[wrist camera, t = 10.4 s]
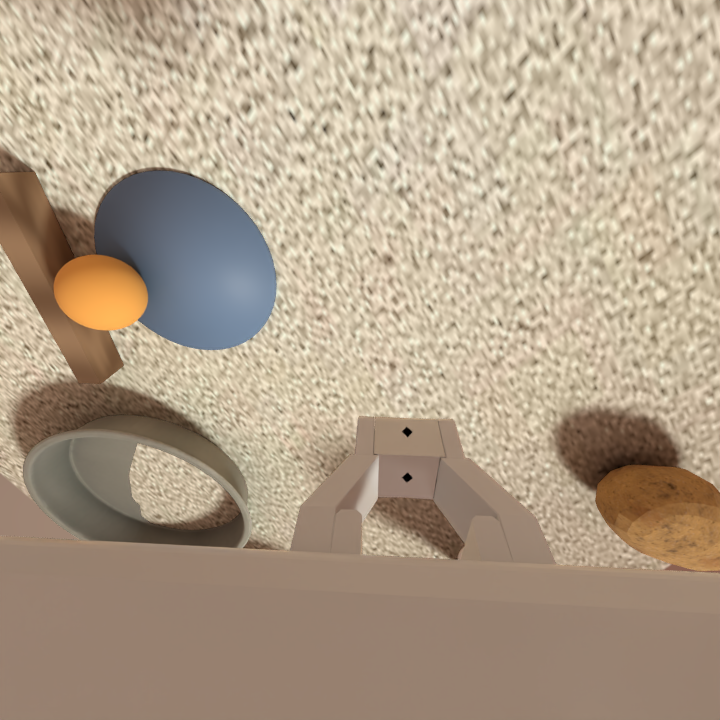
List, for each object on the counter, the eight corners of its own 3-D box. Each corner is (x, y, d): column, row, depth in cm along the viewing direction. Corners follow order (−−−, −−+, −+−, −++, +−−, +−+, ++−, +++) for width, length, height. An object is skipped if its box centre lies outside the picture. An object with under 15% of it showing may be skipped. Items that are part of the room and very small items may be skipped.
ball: (143, 248, 23) (103, 241, 26) (56, 276, 20) (19, 265, 22) (174, 316, 27) (136, 304, 29) (104, 351, 23) (67, 334, 25)
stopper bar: (7, 172, 23) (-40, 173, 20) (34, 171, 23) (-9, 173, 20) (104, 364, 31) (79, 383, 29) (123, 365, 31) (101, 383, 29)
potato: (633, 420, 31) (702, 493, 24) (718, 478, 35) (801, 555, 28) (551, 475, 36) (590, 549, 29) (633, 521, 39) (686, 597, 32)
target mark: (62, 171, 23) (59, 171, 22) (260, 169, 22) (259, 169, 22) (136, 347, 30) (135, 348, 30) (286, 350, 29) (286, 351, 29)
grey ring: (139, 543, 49) (118, 575, 45) (9, 421, 37) (-35, 452, 33) (291, 526, 44) (283, 561, 40) (201, 382, 32) (176, 412, 28)
